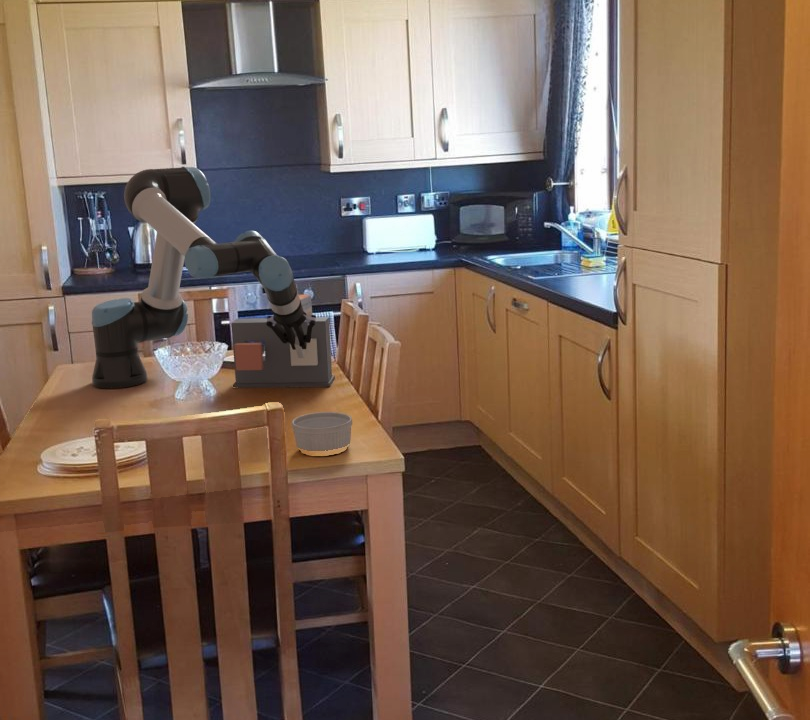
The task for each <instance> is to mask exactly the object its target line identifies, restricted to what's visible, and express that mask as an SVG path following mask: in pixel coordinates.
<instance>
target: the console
mask: <svg viewBox="0 0 810 720" xmlns="http://www.w3.org/2000/svg"><path fill="white" fill-rule="evenodd" d="M266 323H267V317H263V318H262V317H260V318H257V317H256V318H255V317H254V318H236V319H235V320H232V321H231V323H230V324H231V325H230V326H231V338H232V339H231V341H232V351H233V364H234V376H235V377H234V378H235V381H234V382H233V384H232V388H233V387H238V388H237V389H261V388H262V389H266V388H271V389H272V388H273V389H274V388H276V389H277V388H280V389H281V388H330V387H331V386H332V384H333V382H334V380H335V379H336V376H335V375H334V374H333V367H332V353H331V352H332V350H331V331H330V316H319V317H318V316H316V320H315V325H314V326H313V327H312V333H311V339H314V338H317V355H318V364H317V365H305V366H291V355H290V343H289V342H287V343H283V342H282V341H281V340H280V339H279V337H278V336H277V335H276V334H275V332H274V331H273V330H272V329H271V328H270V327H268V326H267V325H266ZM301 325H302V328H303V331H304V335H307V326H308V325H307V323H306V320H305V321H304V322H303V323H302V324H301ZM281 326H282V325H281ZM282 327H283V326H282ZM292 328H293V331H294V334H295V337H297V334H296V331H295V330H294V327H292ZM283 329H284V327H283ZM254 341H259V342H264V343H263V345H264V346H265V352H264V355H263V366H264V368H263V369H262V370H236V360H235V347H234V345H235V344H236V343H251V342H254Z"/></svg>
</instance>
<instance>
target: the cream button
mask: <svg viewBox="0 0 810 720" xmlns="http://www.w3.org/2000/svg"><path fill="white" fill-rule="evenodd" d="M306 343H307V342H306ZM290 355H291V366H305V365H317V364H318V355H317V338H314V339H311V341H310V343H307V347H306V349H305V356H304V358H299V357H298V354H297V351H296V350H293V349H292V347H291V344H290Z"/></svg>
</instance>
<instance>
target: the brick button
mask: <svg viewBox="0 0 810 720" xmlns="http://www.w3.org/2000/svg"><path fill="white" fill-rule="evenodd" d="M234 347H235V360H236V370H262V369H263V368H264V366H263V356H264V355H265V346H264V343H263V342H262V341H251V342H250V343H236V344H235V345H234Z"/></svg>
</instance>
